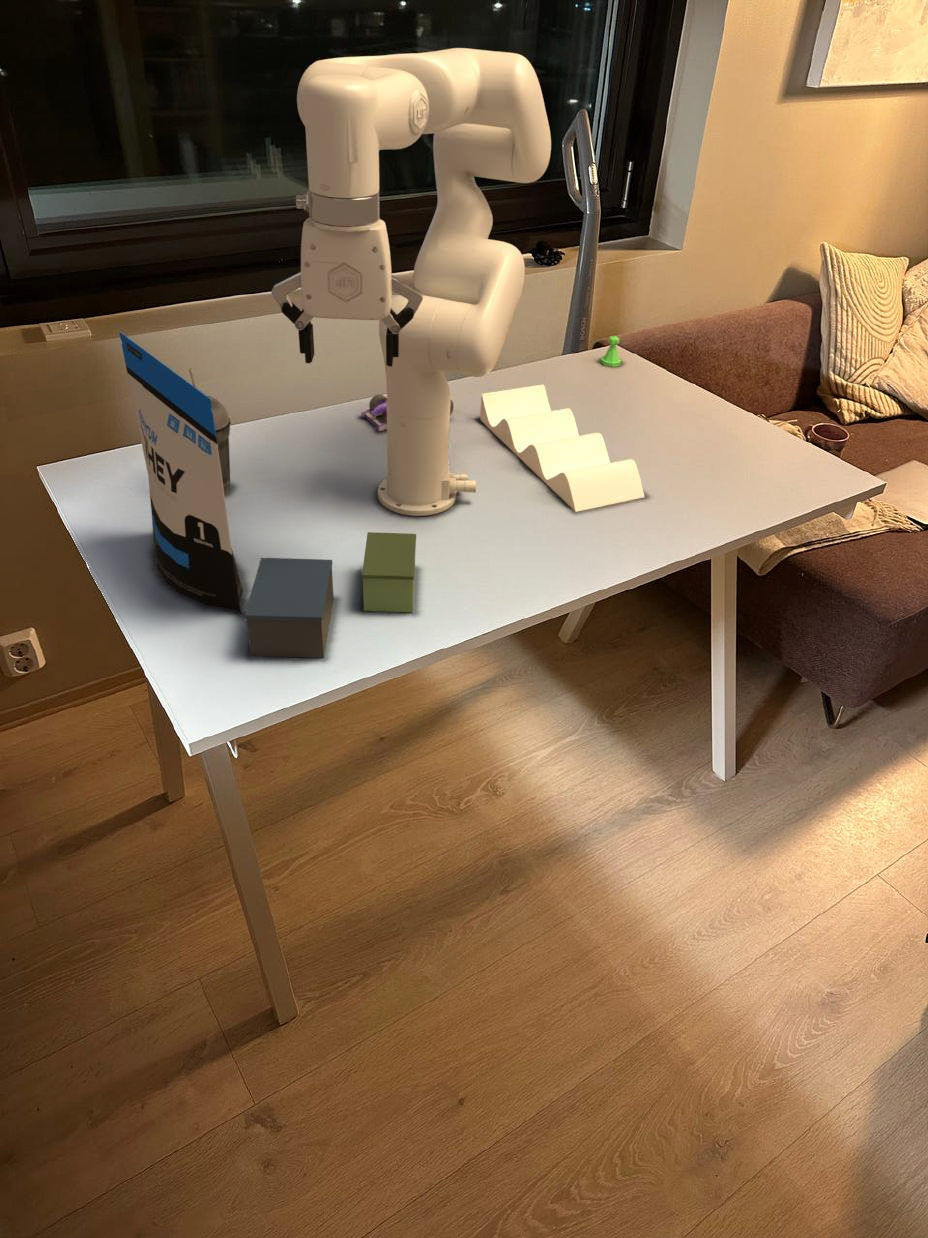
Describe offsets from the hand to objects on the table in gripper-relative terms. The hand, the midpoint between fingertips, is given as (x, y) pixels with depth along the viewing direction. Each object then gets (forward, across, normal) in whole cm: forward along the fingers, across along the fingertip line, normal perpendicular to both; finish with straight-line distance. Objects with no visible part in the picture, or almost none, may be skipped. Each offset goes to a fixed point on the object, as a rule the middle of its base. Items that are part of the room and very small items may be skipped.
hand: (350, 360), depth 106 cm
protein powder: (+31, -22, -2) cm, 38 cm away
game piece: (+31, +48, +79) cm, 97 cm away
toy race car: (+31, +5, +49) cm, 58 cm away
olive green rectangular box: (+30, +5, -5) cm, 31 cm away
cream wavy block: (+31, +32, +36) cm, 57 cm away
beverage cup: (+31, -24, +20) cm, 44 cm away
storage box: (+30, -7, -14) cm, 34 cm away
